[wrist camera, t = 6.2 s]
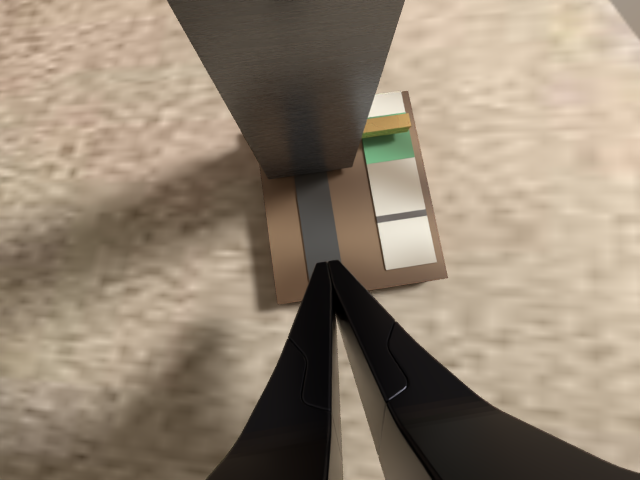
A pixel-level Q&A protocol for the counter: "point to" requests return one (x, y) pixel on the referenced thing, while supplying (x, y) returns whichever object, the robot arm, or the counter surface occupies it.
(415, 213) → the board
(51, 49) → the counter surface
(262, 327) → the counter surface
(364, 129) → the grey square pillar
